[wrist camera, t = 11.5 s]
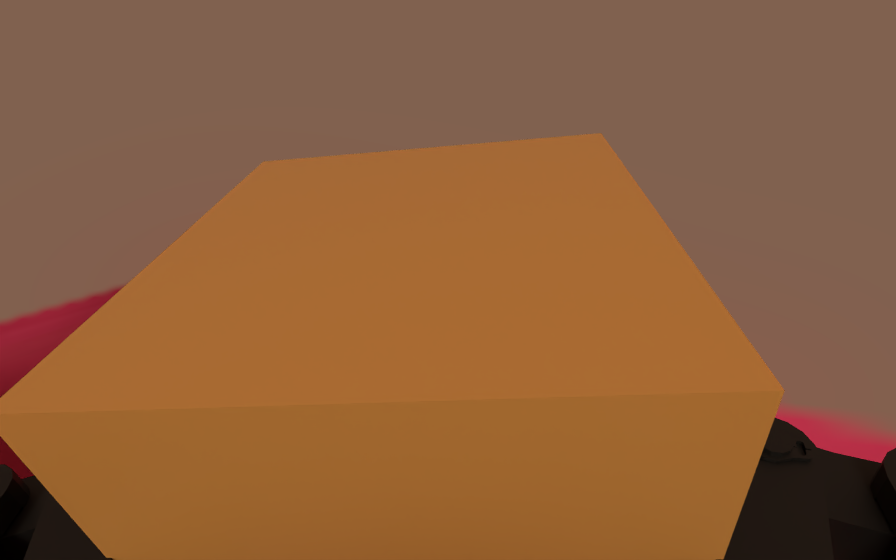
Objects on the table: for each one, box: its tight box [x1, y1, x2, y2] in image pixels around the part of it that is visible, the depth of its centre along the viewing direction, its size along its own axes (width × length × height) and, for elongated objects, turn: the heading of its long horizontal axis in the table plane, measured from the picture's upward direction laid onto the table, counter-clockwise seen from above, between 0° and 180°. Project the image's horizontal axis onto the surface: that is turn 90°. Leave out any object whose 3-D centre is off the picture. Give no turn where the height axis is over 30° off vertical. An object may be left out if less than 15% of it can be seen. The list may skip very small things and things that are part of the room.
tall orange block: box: [0, 133, 785, 560], centre depth 11 cm, size 8×8×10 cm
